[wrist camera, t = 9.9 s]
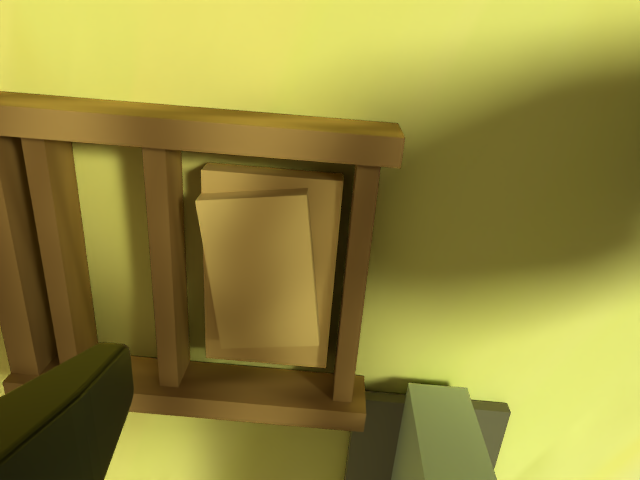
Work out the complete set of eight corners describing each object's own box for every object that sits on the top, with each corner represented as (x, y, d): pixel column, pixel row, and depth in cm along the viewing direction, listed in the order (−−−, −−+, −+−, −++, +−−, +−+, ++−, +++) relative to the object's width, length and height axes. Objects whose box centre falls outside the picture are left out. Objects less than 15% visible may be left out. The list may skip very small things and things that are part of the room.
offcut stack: (343, 173, 19) (343, 188, 18) (326, 353, 23) (325, 380, 21) (206, 162, 19) (194, 176, 18) (210, 343, 23) (200, 369, 21)
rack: (397, 123, 18) (405, 138, 16) (361, 393, 24) (363, 432, 21) (-16, 89, 19) (-64, 100, 16) (38, 365, 24) (6, 400, 22)
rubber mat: (506, 403, 23) (510, 412, 23) (476, 508, 26) (479, 518, 26) (355, 390, 24) (355, 398, 23) (342, 495, 26) (342, 506, 26)
